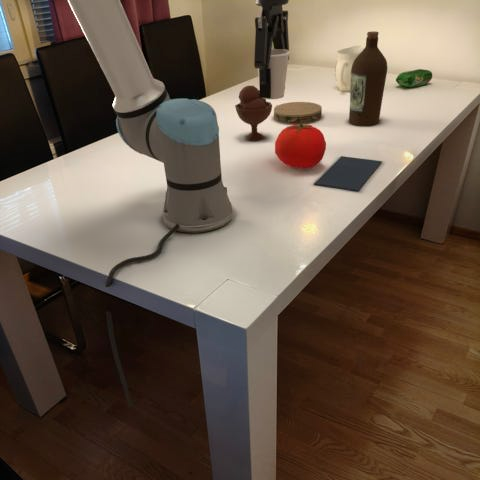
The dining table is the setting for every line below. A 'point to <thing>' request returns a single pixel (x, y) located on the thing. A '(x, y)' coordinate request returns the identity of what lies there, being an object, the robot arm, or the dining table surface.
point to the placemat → (348, 173)
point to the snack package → (414, 78)
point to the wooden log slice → (297, 113)
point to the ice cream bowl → (253, 110)
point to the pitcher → (346, 66)
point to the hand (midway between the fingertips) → (272, 93)
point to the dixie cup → (278, 72)
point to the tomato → (300, 146)
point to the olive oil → (367, 83)
